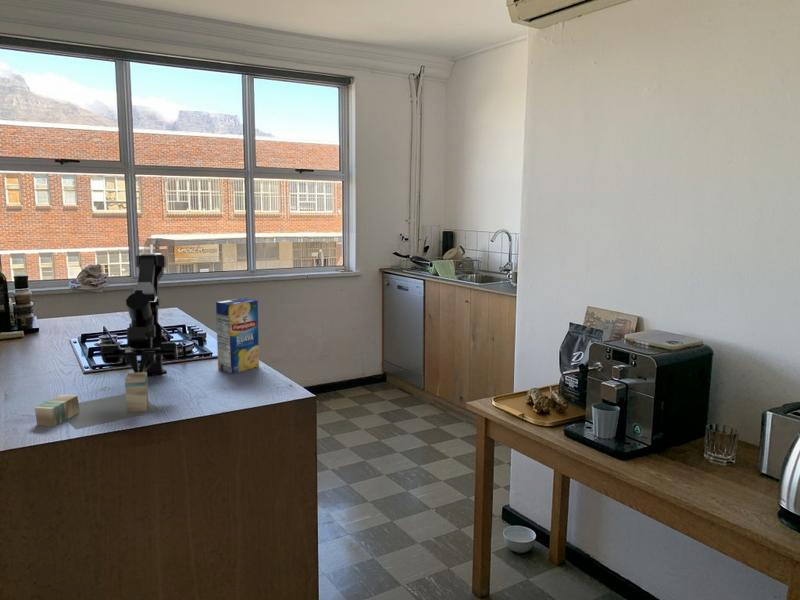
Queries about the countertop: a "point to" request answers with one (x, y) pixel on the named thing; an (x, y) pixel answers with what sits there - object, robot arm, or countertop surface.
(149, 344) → the robot arm
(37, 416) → the beige striped block
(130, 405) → the post
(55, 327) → the countertop surface
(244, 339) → the beverage box
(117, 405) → the mat
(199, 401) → the countertop surface
